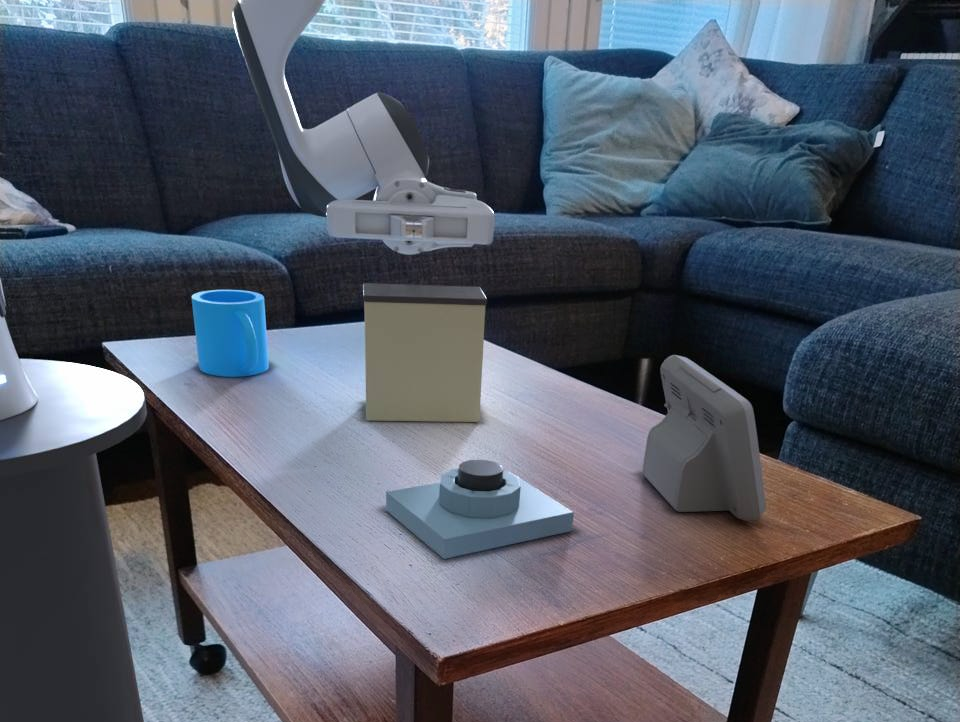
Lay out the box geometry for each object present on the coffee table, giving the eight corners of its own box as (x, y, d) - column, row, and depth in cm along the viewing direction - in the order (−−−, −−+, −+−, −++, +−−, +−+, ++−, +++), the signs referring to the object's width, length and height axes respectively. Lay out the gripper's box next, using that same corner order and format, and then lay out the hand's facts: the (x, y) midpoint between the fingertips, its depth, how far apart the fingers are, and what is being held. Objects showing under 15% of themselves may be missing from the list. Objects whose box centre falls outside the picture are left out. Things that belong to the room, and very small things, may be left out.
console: (480, 422, 96) (487, 299, 90) (365, 421, 95) (363, 295, 88) (474, 404, 101) (479, 286, 95) (364, 403, 100) (363, 283, 93)
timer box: (443, 559, 68) (445, 516, 66) (385, 510, 75) (385, 470, 74) (572, 531, 74) (576, 491, 72) (506, 488, 81) (509, 450, 79)
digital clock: (767, 531, 76) (797, 406, 70) (660, 525, 76) (682, 400, 70) (725, 462, 90) (747, 353, 84) (634, 457, 89) (650, 348, 84)
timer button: (471, 497, 71) (472, 478, 70) (449, 481, 73) (450, 463, 73) (510, 490, 72) (511, 471, 72) (487, 474, 75) (488, 456, 74)
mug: (190, 361, 110) (182, 291, 106) (255, 356, 114) (250, 288, 110) (220, 388, 102) (213, 313, 97) (290, 381, 105) (285, 308, 101)
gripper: (325, 184, 113) (321, 195, 101) (487, 192, 115) (501, 205, 104) (327, 238, 116) (323, 256, 104) (484, 245, 119) (498, 263, 107)
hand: (413, 230), depth 104 cm, fingers closed
